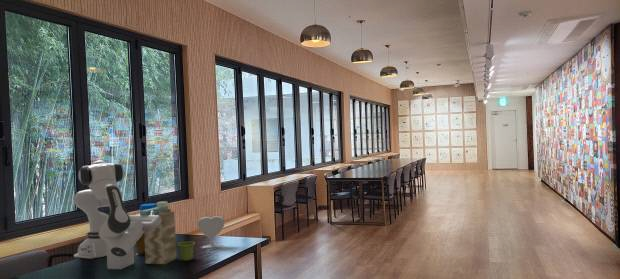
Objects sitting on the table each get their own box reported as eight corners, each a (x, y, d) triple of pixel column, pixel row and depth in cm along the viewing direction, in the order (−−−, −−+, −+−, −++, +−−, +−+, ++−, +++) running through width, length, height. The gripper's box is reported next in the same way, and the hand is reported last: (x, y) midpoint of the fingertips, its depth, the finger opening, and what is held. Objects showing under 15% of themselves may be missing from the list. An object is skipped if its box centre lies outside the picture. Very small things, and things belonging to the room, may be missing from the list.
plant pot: (194, 256, 254) (194, 240, 254) (196, 260, 245) (196, 244, 245) (177, 258, 251) (176, 242, 251) (178, 262, 242) (178, 246, 242)
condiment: (138, 252, 270) (137, 232, 270) (152, 251, 271) (151, 231, 271) (134, 255, 263) (133, 234, 263) (149, 254, 264) (148, 233, 264)
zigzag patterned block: (145, 263, 243) (143, 212, 243) (157, 258, 254) (154, 209, 253) (165, 264, 240) (163, 212, 240) (176, 258, 251) (174, 208, 251)
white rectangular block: (107, 268, 236) (106, 239, 236) (121, 263, 246) (119, 234, 246) (121, 269, 234) (119, 239, 234) (134, 263, 244) (132, 234, 244)
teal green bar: (140, 216, 233) (139, 206, 233) (162, 211, 253) (162, 201, 254) (146, 216, 232) (145, 206, 232) (168, 211, 253) (168, 201, 253)
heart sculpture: (198, 248, 273) (197, 218, 273) (199, 246, 278) (198, 217, 278) (224, 246, 275) (223, 216, 274) (225, 244, 280) (224, 215, 279)
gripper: (151, 225, 222) (164, 206, 233) (115, 224, 226) (129, 207, 238) (155, 234, 225) (168, 216, 236) (119, 234, 230) (133, 216, 241)
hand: (148, 211), depth 237 cm, fingers closed on teal green bar, 3 cm apart
